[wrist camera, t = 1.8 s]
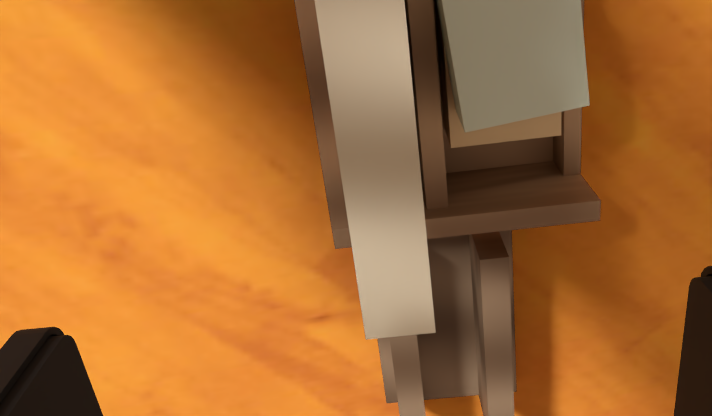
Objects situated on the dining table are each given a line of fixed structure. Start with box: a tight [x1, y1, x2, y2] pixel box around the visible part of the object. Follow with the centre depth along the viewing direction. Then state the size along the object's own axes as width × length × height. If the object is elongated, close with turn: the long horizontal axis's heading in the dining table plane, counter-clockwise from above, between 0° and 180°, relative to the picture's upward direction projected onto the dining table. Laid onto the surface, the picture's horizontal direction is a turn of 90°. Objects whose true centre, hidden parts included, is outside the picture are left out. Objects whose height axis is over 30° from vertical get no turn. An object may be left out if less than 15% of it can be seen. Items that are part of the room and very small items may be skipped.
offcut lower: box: [435, 0, 561, 148], centre depth 29 cm, size 8×5×3 cm, turn 7°
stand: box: [378, 230, 516, 416], centre depth 36 cm, size 12×8×5 cm, turn 7°
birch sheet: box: [314, 0, 436, 339], centre depth 24 cm, size 10×2×16 cm, turn 7°
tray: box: [294, 0, 601, 249], centre depth 29 cm, size 16×12×6 cm
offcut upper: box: [436, 0, 590, 133], centre depth 26 cm, size 6×5×3 cm
